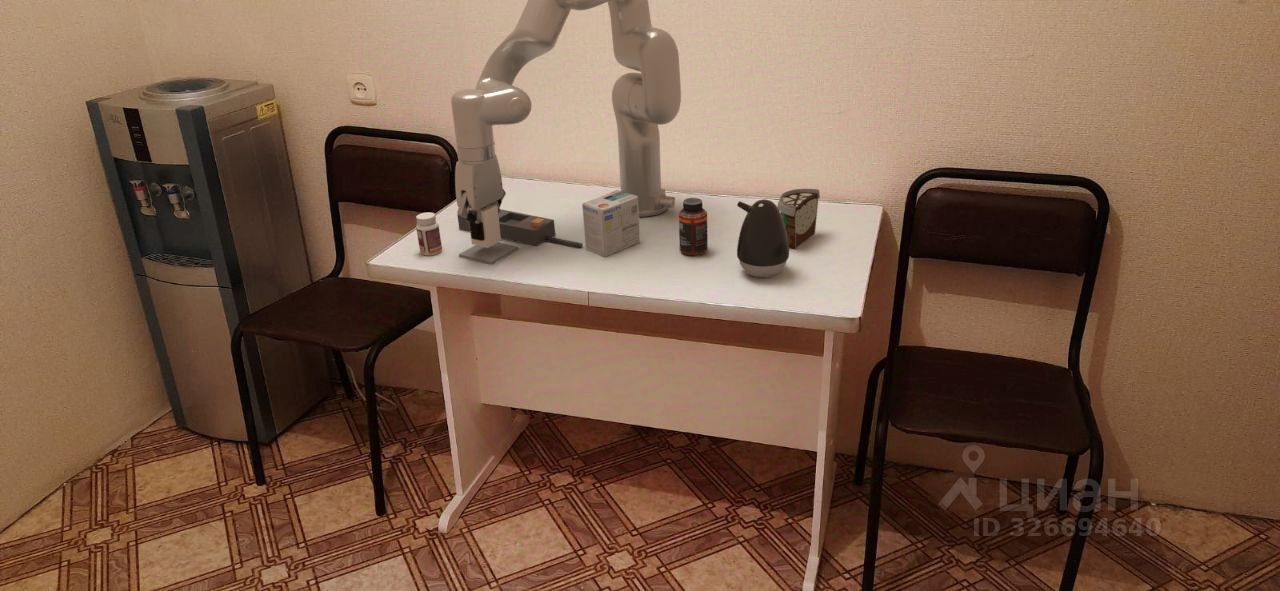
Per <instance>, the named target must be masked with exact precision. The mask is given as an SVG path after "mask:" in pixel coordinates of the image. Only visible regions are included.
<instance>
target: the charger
mask: <svg viewBox="0 0 1280 591" xmlns="http://www.w3.org/2000/svg"><path fill="white" fill-rule="evenodd" d="M472 214H473V215H474V216H475V211H473V212H472ZM480 222H482V223H483V231H484V240H483V241H480V240H475V239H472V238H471V237H470V239H471V245H473V246H475V245H478V246H482V247H487V248H488V247H490V246H492V245H494V244H496V243H498V242H501V241H502V239H501V235H500V225H499V216H498V207H497V205H493V204H489V205H487V206H485V207H483V208H481V217H480ZM469 225H470V224H469ZM469 234H471V232H470V233H469Z"/></svg>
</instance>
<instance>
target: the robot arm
mask: <svg viewBox="0 0 1280 591" xmlns="http://www.w3.org/2000/svg"><path fill="white" fill-rule="evenodd" d="M605 3H607V5H608V9H609V10H608V11H609V16H610V26H611V27H610V28H611V36H612V38H611V39H612V47H613V48H612V49H613V54H614V58H615V60H616V61H617V63H618V64H619V65H621V66H622V67H625V68H627V69H631V70H634V71H637V72H628V73H624V74H623V75H620V76H619V77H618V78H617V79H616V80H615V82H614V83H613V87H612V91H611V103H612V108H613V112H614V116H615V120H616V121H615V122H616V129H617V140H618V142H617V143H618V146H617V147H618V158H619V159H618V162H619V180H620V183H619V184H620V191H622V192H625V193H629V194H632V195H636V196H638V208H639V218H640V217H641V218H643V217H644V218H645V217H652V216H656V215H660V214H662V213H664V212H665V211H667V209H674V207H675V203H676V202H675V201H676V198H675V196H671V195H670V196H668V195H667V194H666V189H665V188H662V178H661V177H662V173H661V171H662V170H661V146H660V145H661V141H660V140H661V139H660V129H659V126H660V125H661V126H662V125H667V124H669V123H671V122H672V121H673V120H674V119H676V117H677V115H678V113H679V111H680V107H681V101H682V90H681V89H682V88H681V72H680V71H681V70H680V57H679V56H680V54H679V50H678V46H677V43H676V41H675V39H674V38H673V37H672V35H671V34H670V33H669V32H667V31H666V30H664V29H662V28H657V27H653V26H652V21H651V13H650V5H649V0H527V1H526V3H525V6H524V8H523V10H522V12H521V14H520V17H519V19H518V20H517V24H516V26H515V27H514V29H513V31H512V32H510V34H508V35H507V36H506V37H505V38H504V40H503V41H502V42H501V43H500V44H499V45H498V46H497V47H496V48H495V50H494V51H493V52H492V53H491V54H490V56H489V58H488V59H487V61H486V63H485V65H484V67H483V70H482V71H481V74H480V75H479V78H478V81H477V83H476V86H475V88H474V89H473V88H469V89H462V90H459V91H456V92H454V93H453V94H452V96H451V98H450V100H451V101H450V102H451V112H452V119H453V127H454V135H455V144H456V152H457V159H458V161H456V164H455V169H454V173H455V174H454V176H455V178H454V183H455V184H454V186H455V198H456V199H455V200H456V204H457V207H458V209H457V211H456V213H457V214H458V215H459V216H462V217H464V218H465V219H466V220H467V222H469V224H470V232H471V233H470V239H471V238H472V239H475V240H480V241H483V240H484V231H483V223H482V222H480V217H481V208H483V207H485V206H487V205H489V204H493V205H497V207H498V214H499V213H500V209H501V206H502V202H503V200H504V198H505V197H506V195H507V194H506V191H505V190H504V187H503V186H504V185H503V179H502V173H501V172H502V171H501V168H500V164H499V160H498V157H497V155H496V150H495V149H496V148H495V145H496V143H495V140H494V130H493V129H494V128H493V126H499V125H500V126H502V125H503V126H507V125H509V126H510V125H516V124H519V123H522V122H523V121H524V120H526V119H527V118H528V117H529V115H530V113H531V112H532V100H531V98H530V96H529V94H528V93H527V92H526V91H524V90H523V89H522V88H520V87H518V86H514V85H513V84H514V81H515V80H516V78H517V76H518V74H519V72H521V70H522V69H523V68H524V67H525V66H526V65H527V64H529V62H531V61H533V60H535V59H536V58H539V57H541V56H543V55H545V54H547V53H548V52H550V51H552V50H553V48H554V47H555V46H556V43H557V41H558V39H559V36H560V35H561V33H562V31H563V28H564V26H565V23H566V21H567V19H568V16H569V15H570V13H571V11H572V10H575V11H586V10H589V9H592V8H596V7H598V6H601V5H603V4H605ZM473 211H475V216H474V215H473V214H472V212H473Z"/></svg>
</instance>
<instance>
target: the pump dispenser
mask: <svg viewBox="0 0 1280 591" xmlns="http://www.w3.org/2000/svg"><path fill="white" fill-rule="evenodd" d="M777 206H778V205H777V204H776V203H775V202H773V201H772V200H770V199H762V198H761V199H759V200H757V201H755V202H754V203H752V205H751V204H748V203H745V202H743V201H737V207H738V208H739V209H741V210H743V211H745V212H746V216H745V217H744V220H743V222H742V223H741V224H742V225H741V228H740V231H739V236H738V239H737V240H738V241H737V247H736V248H737V249H736V257H737V258H738V262H739V264H740V266H741V269H743V270H744V271H745V272H746V274H748V275H751V276H753V277H755V278H756V277H757V278H770V277H773V276H776V275H778V274H779V273H780V272H781V271H782V270H783V269H784V267H786V266H785V265H786V263H787V261H788V259H789V257H790V248H789V243H788V236H787V231H786V227H785V224H784V221H783V218H782V215H781V211H779V209H778V208H777Z"/></svg>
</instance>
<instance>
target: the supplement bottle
mask: <svg viewBox="0 0 1280 591" xmlns="http://www.w3.org/2000/svg"><path fill="white" fill-rule="evenodd" d="M703 206H704V205H703V200H702V199H701V198H699V197H687V198H685V199H683V201H682V209H680V211H678V233H679V234H678V236H679V241H678V242H679V243H678V244H679V251H680V253H681V254H682V255H685V256H690V257H693V256H694V257H695V256H696V257H697V256H701V255H704V254H706V253H707V251H708V236H709V235H708V212H707V210H706V209H705V208H704V207H703Z"/></svg>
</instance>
